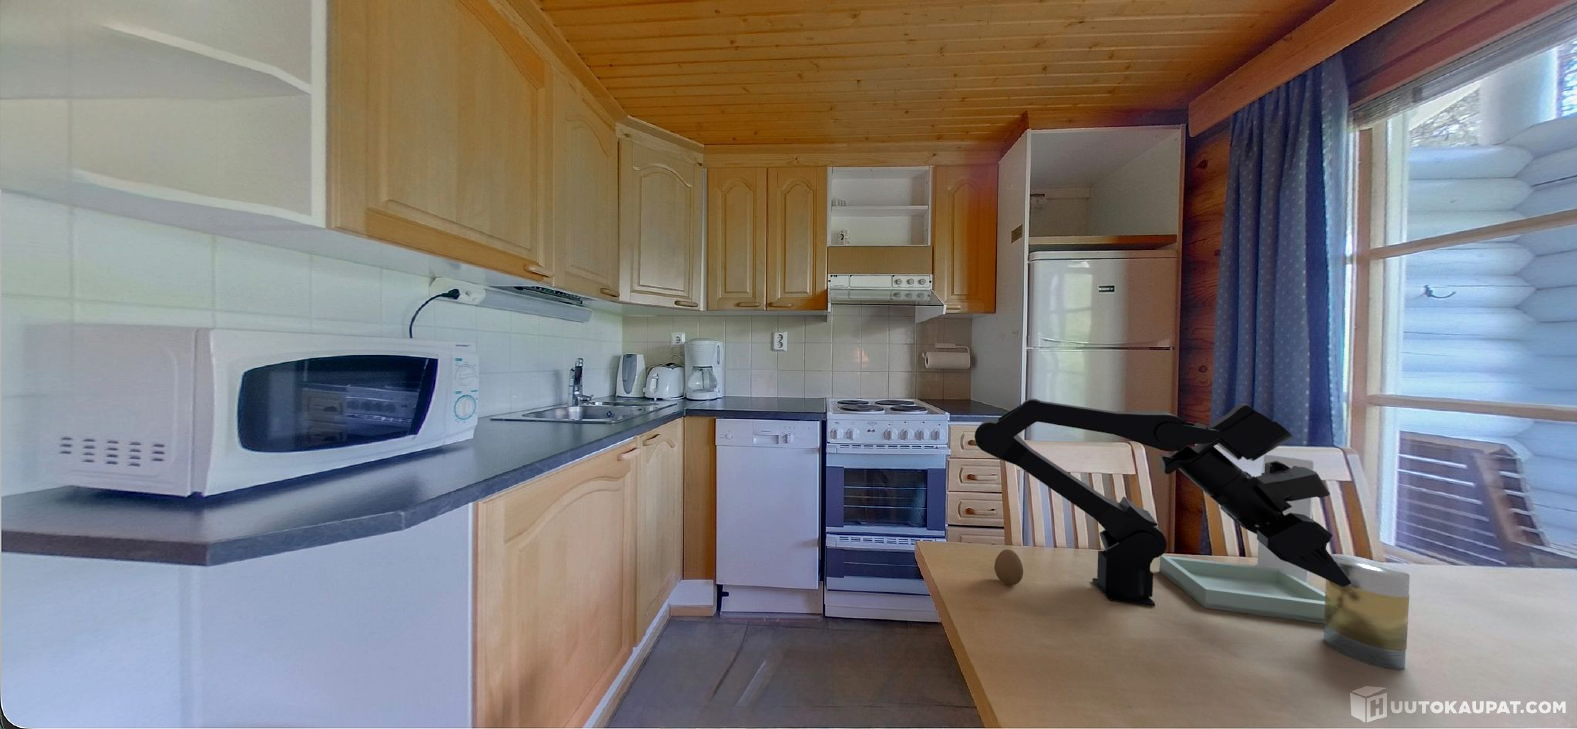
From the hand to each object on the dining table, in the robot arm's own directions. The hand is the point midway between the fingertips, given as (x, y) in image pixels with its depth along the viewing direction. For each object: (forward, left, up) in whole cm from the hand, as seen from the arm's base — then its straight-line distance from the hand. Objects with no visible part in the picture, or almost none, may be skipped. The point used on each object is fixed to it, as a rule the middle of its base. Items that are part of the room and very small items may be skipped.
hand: (1326, 569), depth 60 cm
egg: (-40, +4, -11) cm, 41 cm away
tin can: (+3, -1, -10) cm, 11 cm away
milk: (+11, +22, -11) cm, 27 cm away
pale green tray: (-2, +11, -10) cm, 16 cm away
